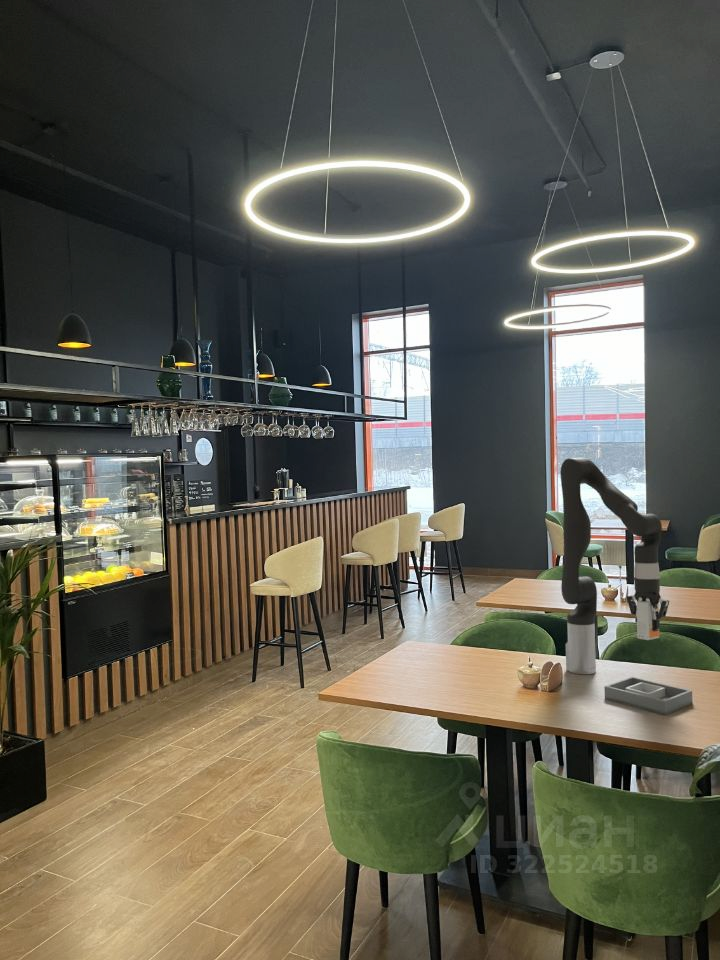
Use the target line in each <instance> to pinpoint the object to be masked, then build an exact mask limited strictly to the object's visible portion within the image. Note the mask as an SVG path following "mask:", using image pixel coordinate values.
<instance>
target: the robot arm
mask: <svg viewBox="0 0 720 960" xmlns="http://www.w3.org/2000/svg"><path fill="white" fill-rule="evenodd" d="M560 482H561V493H562V505H563V506H562V509H563V523H562V525H563V526H562V528H563V529H562V534H563V535H562V536H563V562H562V563H563V565H562V575H561V583H560V584H561V585H560V587H561V588H560V589H561V595H562V599H563V601H564V602H565V603H566V604H568V605H576V606H575V608H574V609H573V610H571V611H570V612H568V613H567V615H566V617H567V618H566V619H567V620H566V621H567V622H566V624H567V642H565V669H566V671H568V672H570V673H572V674H575V675H576V674H577V675H592V674H595V673H596V672H597V661H596V660H597V658H596V657H597V656H596V627H595V626H596V625H595V623H596V622H595V619H596V617H597V611H598V610H597V609H598V607H597V604H598V590H597V585H596V583H595V580H594V579H592V577H590V576H587V575H586V576H580V566H581V563H582V560H583V558H584V556H585V554H586V553H587V550H588V549H589V546H590V544H591V540H592V539H591V537H592V532H591V531H592V530H591V529H592V527H591V526H592V525H591V519H590V517H589V514H588V512H587V510H586V508H585V505H584V504H583V501H582V495H581V485H583V484H585V485H587V486H589V487H591V488H592V489H594V490H595V492H597V494H598V495H599V497H600V500H602V503H603V505H604V506H605V507H606V508H607V509H608V510H609V511H610V512H612V513H613V514H614V515H615V516H616V517H618V518H619V519H620V520H621V522H622V524H623V526H625V528H626V529H627V530H628V532H629V533H631V534H632V535H634V536H636V537H639V538H640V539H641V540H640V542H639V543H637V544H636V545H635V546H634V566H633V577H634V578H633V579H634V591H635V592H634V594H631V595H627V596H626V601H627V603H628V604H627V605H628V608H629V612H630V614H631V615H634V616H636V618H637V601H646V602H649V603H650V607H651V613H652V617H653V620H652V625H653V631H658V629H659V630H660V625H661V624H660V619H663V618H664V619H665V618H666V615H667V612H668V608H669V606H670V600H668V599H664V598H662V597H661V595H660V591H661V586H660V585H661V584H660V583H661V582H660V581H661V579H660V576H661V575H660V566H659V550H658V549H659V546H660V543H661V542H660V541H661V538H662V533H663V532H662V531H663V524H662V521H661V519H660V517H659V516H657V515H656V514H654V513H643V514H641V513H640V512H639V510H638V509H639V508H638V504H637V503H636V502H635V501H634V500H633V499H631V498H630V497H629V496H628V495H626V494H625V493H624V492H622V491H621V489H619V488H618V487H617V486H616V485H615V484H613V482H612V481H610V479H609V478H608V477H607V476H606V475H605V474H604V473H603V472H602V471H601V469H600V468H599V467H598V466H597V464H595V463H594V462H593V461H592V460H591V459H590V458H587V457H570V458H566V459H565V460H564V461H563V462H562V464H561V467H560ZM658 603H659V607H658ZM655 607H656V609H654V608H655Z"/></svg>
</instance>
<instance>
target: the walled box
mask: <svg viewBox="0 0 720 960" xmlns="http://www.w3.org/2000/svg"><path fill="white" fill-rule="evenodd" d="M603 687H604V700H607V701H611V702H614V703H618V704H622V705H626V706H629V707H633V708H637V709H640V710H644V711H647V712H652V713H656V714H659V715H663V716H668V715H669V714H673V713H675V712H677V711H680V710H682V709H684V708H686V707H688V706H691V705H693V690H690V689H687V688H682V687H678V686H673V685H670V684H665V683H660V682H657V681H652V680H648V679H644V678H639V677H635V676H630V677H627V678H624V679H621V680H619V681H616V682H612V683H610V684H609V683H608V684H606V685H604V686H603Z"/></svg>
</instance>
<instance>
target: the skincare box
mask: <svg viewBox="0 0 720 960" xmlns="http://www.w3.org/2000/svg"><path fill="white" fill-rule="evenodd" d="M636 606H637V617H636V638H637V639H640V640H646V641H650V640H655V639H659V638H660V628H659V629H658V631H653V625H652V620H653V617H652V613H651V607H650V603H649V602H646V601H637V600H636ZM658 607H659V608H660V602H659V603H658ZM654 609H656V607H655V608H654Z"/></svg>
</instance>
